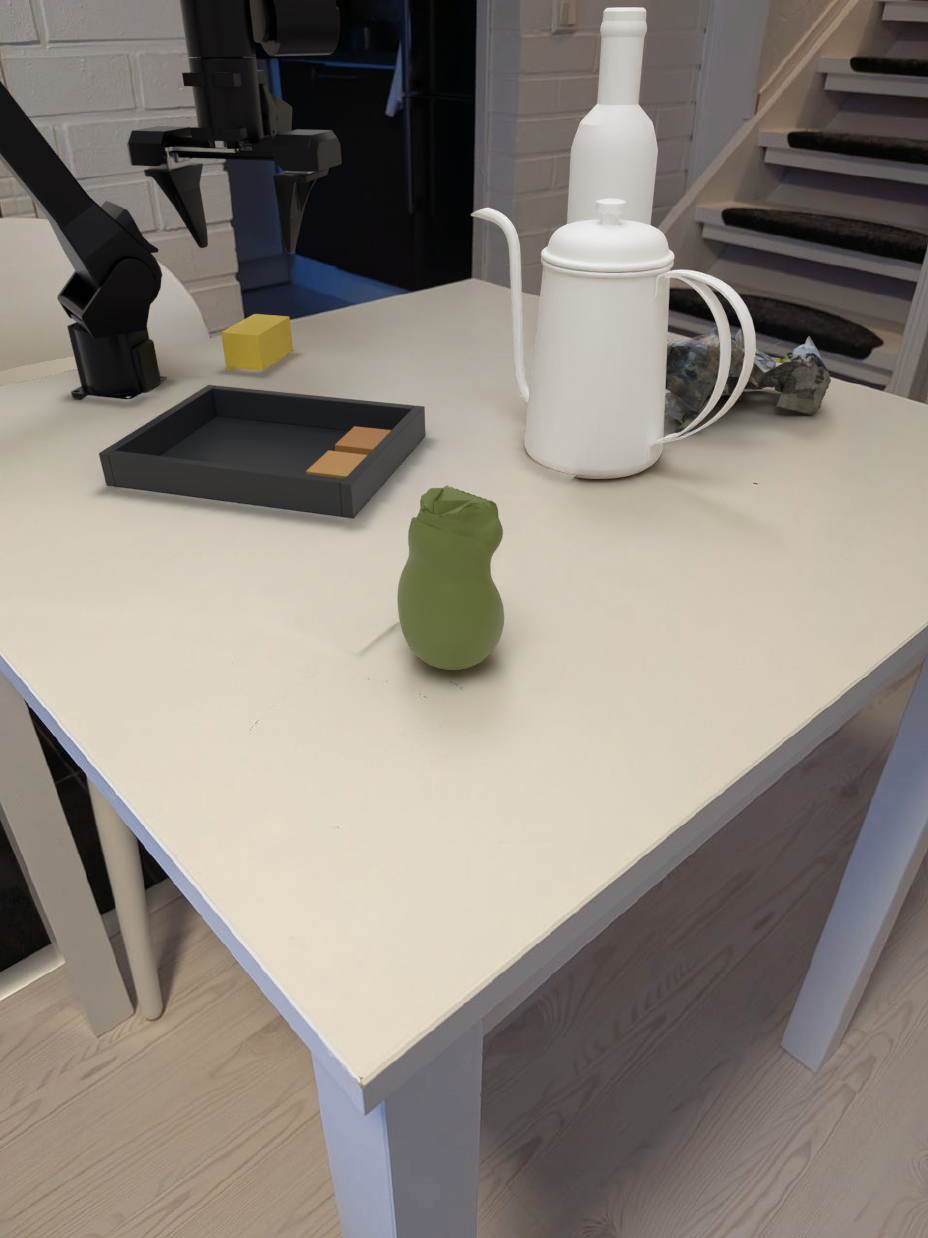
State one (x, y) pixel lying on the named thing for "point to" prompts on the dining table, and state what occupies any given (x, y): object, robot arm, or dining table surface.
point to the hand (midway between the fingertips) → (246, 249)
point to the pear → (451, 580)
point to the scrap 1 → (335, 464)
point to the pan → (263, 449)
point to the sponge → (257, 342)
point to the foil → (699, 365)
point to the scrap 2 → (361, 440)
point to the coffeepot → (607, 344)
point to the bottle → (615, 128)
